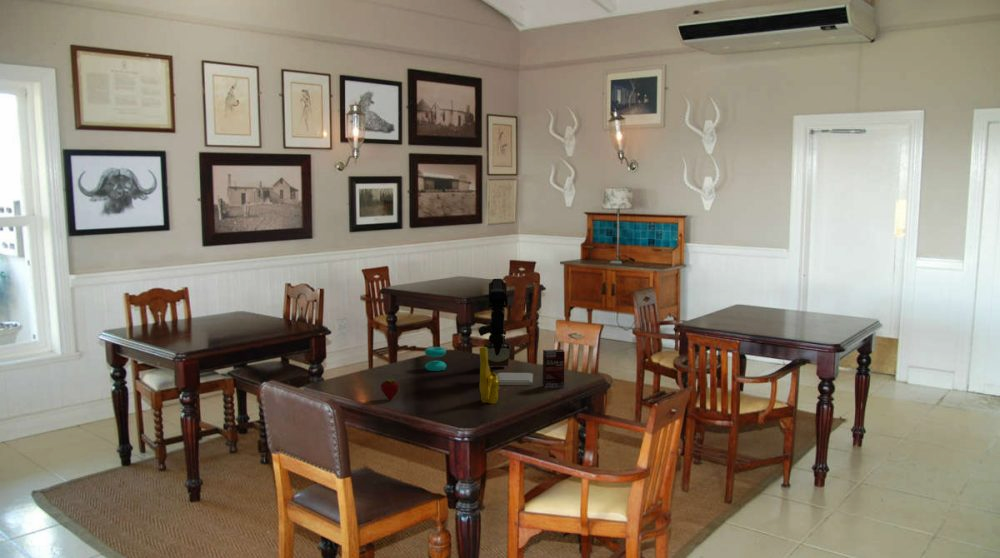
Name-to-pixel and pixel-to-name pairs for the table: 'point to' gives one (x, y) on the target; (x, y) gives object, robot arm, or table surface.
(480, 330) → the robot arm
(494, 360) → the food container
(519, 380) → the white square tray
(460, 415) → the table surface
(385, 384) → the strawberry
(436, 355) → the donuts
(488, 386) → the yellow tall lumpy piece
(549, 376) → the supplement box
